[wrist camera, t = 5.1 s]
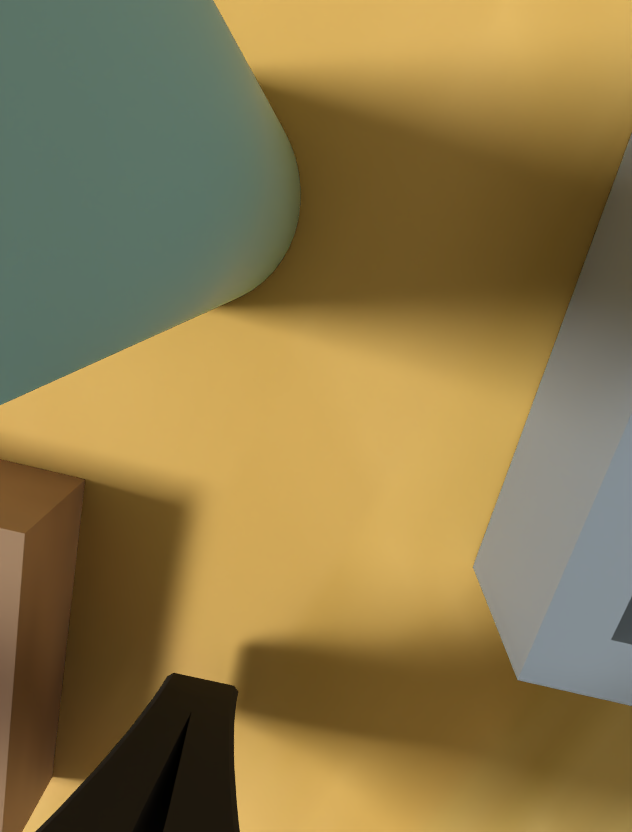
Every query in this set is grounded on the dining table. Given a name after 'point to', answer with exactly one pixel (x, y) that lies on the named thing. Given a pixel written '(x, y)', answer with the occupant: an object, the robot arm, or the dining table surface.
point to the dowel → (128, 179)
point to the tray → (574, 489)
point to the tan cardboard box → (33, 627)
